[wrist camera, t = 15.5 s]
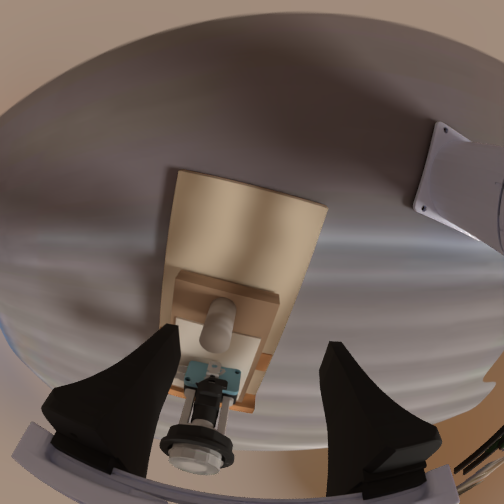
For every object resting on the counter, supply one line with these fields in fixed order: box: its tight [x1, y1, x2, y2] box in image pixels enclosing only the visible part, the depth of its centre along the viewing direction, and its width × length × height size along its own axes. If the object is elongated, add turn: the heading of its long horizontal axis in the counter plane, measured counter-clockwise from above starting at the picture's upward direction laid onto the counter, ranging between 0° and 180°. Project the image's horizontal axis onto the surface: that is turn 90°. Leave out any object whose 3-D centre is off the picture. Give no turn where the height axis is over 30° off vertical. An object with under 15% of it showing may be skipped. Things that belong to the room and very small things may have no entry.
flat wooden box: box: [159, 169, 328, 413], centre depth 22 cm, size 11×22×3 cm, turn 166°
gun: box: [454, 425, 504, 475], centre depth 40 cm, size 6×35×8 cm, turn 171°
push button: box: [160, 361, 241, 475], centre depth 18 cm, size 7×5×10 cm
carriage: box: [170, 270, 280, 403], centre depth 21 cm, size 8×13×6 cm, turn 166°
